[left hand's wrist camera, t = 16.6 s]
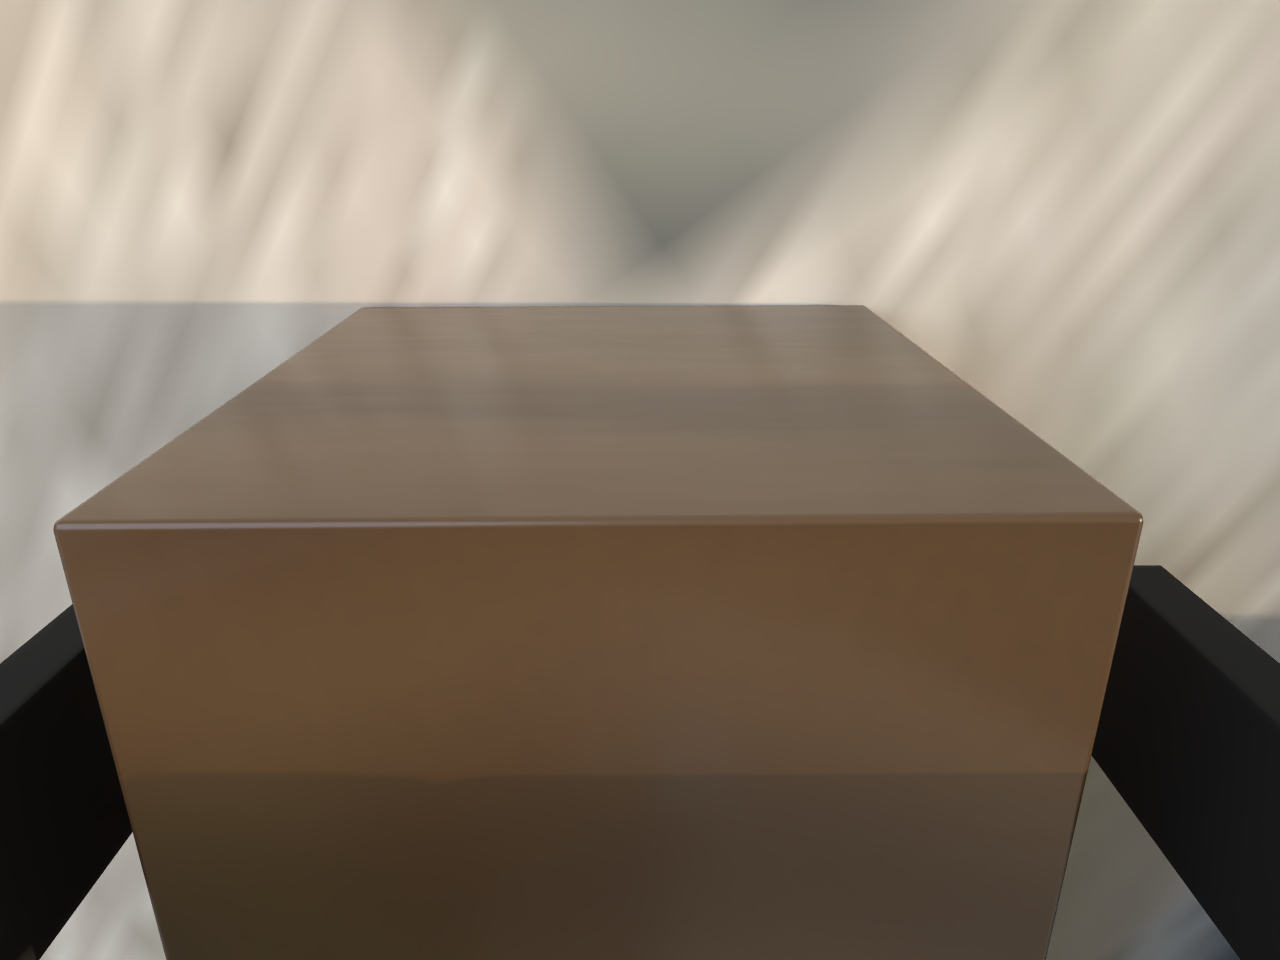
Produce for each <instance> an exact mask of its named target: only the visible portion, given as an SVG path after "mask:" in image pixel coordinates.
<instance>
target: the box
mask: <svg viewBox="0 0 1280 960" xmlns="http://www.w3.org/2000/svg"><path fill="white" fill-rule="evenodd" d="M1142 526H1143V517H1142V515H1141V513H1139V512H1138V511H1137V510H1135V509H1134V508H1133V507H1131V506H1130V505H1129V504H1127V503H1126V502H1125V501H1123V500H1122V499H1121V498H1119V497H1118V496H1117V495H1115V494H1114V493H1113V492H1111V491H1110V490H1109V489H1107V488H1106V487H1105V486H1104V485H1102V484H1101V483H1100V482H1098V481H1097V480H1096V479H1094V478H1093V477H1092V476H1090V475H1089V474H1088V473H1086V472H1085V471H1084V470H1082V469H1081V468H1080V467H1078V466H1077V465H1076V464H1074V463H1073V462H1072V461H1070V460H1069V459H1068V458H1066V457H1065V456H1064V455H1062V454H1061V453H1060V452H1058V451H1057V450H1056V449H1054V448H1053V447H1052V446H1050V445H1049V444H1048V443H1046V442H1045V441H1044V440H1042V439H1041V438H1040V437H1038V436H1037V435H1036V434H1034V433H1033V432H1032V431H1030V430H1029V429H1028V428H1026V427H1025V426H1024V425H1022V424H1021V423H1020V422H1018V421H1017V420H1016V419H1014V418H1013V417H1012V416H1010V415H1009V414H1008V413H1006V412H1005V411H1004V410H1002V409H1001V408H1000V407H998V406H997V405H996V404H994V403H993V402H992V401H990V400H989V399H988V398H986V397H985V396H984V395H982V394H981V393H980V392H978V391H977V390H976V389H974V388H973V387H972V386H970V385H969V384H968V383H966V382H965V381H964V380H962V379H961V378H960V377H958V376H957V375H956V374H954V373H953V372H952V371H950V370H949V369H948V368H946V367H945V366H944V365H942V364H941V363H940V362H938V361H937V360H936V359H934V358H933V357H932V356H930V355H929V354H928V353H926V352H925V351H924V350H922V349H921V348H920V347H918V346H917V345H916V344H914V343H913V342H912V341H910V340H909V339H908V338H906V337H905V336H904V335H902V334H901V333H900V332H898V331H897V330H896V329H894V328H893V327H892V326H890V325H889V324H888V323H886V322H885V321H884V320H882V319H881V318H880V317H878V316H877V315H876V314H874V313H873V312H872V311H870V310H869V309H868V308H866V307H865V306H609V307H363V308H361V309H360V310H358V311H357V312H355V313H354V314H352V315H351V316H350V317H348V318H347V319H345V320H344V321H342V322H341V323H340V324H338V325H337V326H335V327H334V328H332V329H331V330H330V331H328V332H327V333H325V334H324V335H322V336H321V337H320V338H318V339H317V340H315V341H314V342H312V343H311V344H310V345H308V346H307V347H305V348H304V349H302V350H301V351H300V352H298V353H297V354H295V355H294V356H292V357H291V358H290V359H288V360H287V361H285V362H284V363H282V364H281V365H280V366H278V367H277V368H275V369H274V370H272V371H271V372H270V373H268V374H267V375H265V376H264V377H262V378H261V379H260V380H258V381H257V382H255V383H254V384H252V385H251V386H250V387H248V388H247V389H245V390H244V391H242V392H241V393H239V394H238V395H237V396H235V397H234V398H232V399H231V400H229V401H228V402H227V403H225V404H224V405H222V406H221V407H219V408H218V409H217V410H215V411H214V412H212V413H211V414H209V415H208V416H207V417H205V418H204V419H202V420H201V421H199V422H198V423H197V424H195V425H194V426H192V427H191V428H189V429H188V430H187V431H185V432H184V433H182V434H181V435H179V436H178V437H177V438H175V439H174V440H172V441H171V442H169V443H168V444H167V445H165V446H164V447H162V448H161V449H159V450H158V451H157V452H155V453H154V454H152V455H151V456H149V457H148V458H147V459H145V460H144V461H142V462H141V463H139V464H138V465H137V466H135V467H134V468H132V469H131V470H129V471H128V472H127V473H125V474H124V475H122V476H121V477H119V478H118V479H117V480H115V481H114V482H112V483H111V484H109V485H108V486H107V487H105V488H104V489H102V490H101V491H99V492H98V493H97V494H95V495H94V496H92V497H91V498H89V499H88V500H87V501H85V502H84V503H82V504H81V505H79V506H78V507H77V508H75V509H74V510H72V511H71V512H69V513H68V514H67V515H65V516H64V517H62V518H61V519H59V520H58V521H57V522H56V523H55V525H54V534H55V538H56V542H57V546H58V550H59V553H60V557H61V561H62V565H63V569H64V572H65V576H66V580H67V584H68V588H69V591H70V595H71V599H72V603H73V607H74V610H75V614H76V618H77V622H78V626H79V629H80V633H81V637H82V641H83V645H84V648H85V652H86V656H87V660H88V664H89V667H90V671H91V675H92V679H93V683H94V686H95V690H96V694H97V698H98V701H99V705H100V709H101V713H102V717H103V720H104V724H105V728H106V732H107V736H108V739H109V743H110V747H111V751H112V755H113V758H114V762H115V766H116V770H117V774H118V777H119V781H120V785H121V789H122V793H123V796H124V800H125V804H126V808H127V812H128V815H129V819H130V823H131V827H132V831H133V834H134V838H135V842H136V846H137V850H138V853H139V857H140V861H141V865H142V869H143V872H144V876H145V880H146V884H147V888H148V891H149V895H150V899H151V903H152V907H153V910H154V914H155V918H156V922H157V926H158V929H159V933H160V937H161V941H162V945H163V948H164V952H165V956H166V960H1045V959H1046V955H1047V950H1048V946H1049V941H1050V937H1051V932H1052V928H1053V924H1054V919H1055V915H1056V910H1057V906H1058V901H1059V897H1060V892H1061V888H1062V883H1063V879H1064V874H1065V870H1066V865H1067V861H1068V856H1069V852H1070V847H1071V843H1072V839H1073V834H1074V830H1075V825H1076V821H1077V816H1078V812H1079V807H1080V803H1081V798H1082V794H1083V789H1084V785H1085V780H1086V776H1087V771H1088V767H1089V763H1090V758H1091V754H1092V749H1093V745H1094V740H1095V736H1096V731H1097V727H1098V722H1099V718H1100V713H1101V709H1102V704H1103V700H1104V695H1105V691H1106V687H1107V682H1108V678H1109V673H1110V669H1111V664H1112V660H1113V655H1114V651H1115V646H1116V642H1117V637H1118V633H1119V628H1120V624H1121V619H1122V615H1123V610H1124V606H1125V602H1126V597H1127V593H1128V588H1129V584H1130V579H1131V575H1132V570H1133V566H1134V561H1135V557H1136V552H1137V548H1138V543H1139V539H1140V534H1141V530H1142Z"/></svg>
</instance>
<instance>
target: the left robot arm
mask: <svg viewBox="0 0 1280 960" xmlns="http://www.w3.org/2000/svg"><path fill="white" fill-rule="evenodd" d="M1091 755H1092V756H1093V758H1094V759H1095V761H1096V762H1097V763H1098V765H1099V766H1100V767H1101V769H1102V770H1103V772H1104V773H1105V774H1106V776H1107V777H1108V778H1109V780H1110V781H1111V782H1112V784H1113V785H1114V787H1115V788H1116V789H1117V791H1118V792H1119V793H1120V795H1121V796H1122V798H1123V799H1124V800H1125V802H1126V803H1127V804H1128V806H1129V807H1130V809H1131V810H1132V811H1133V813H1134V814H1135V815H1136V817H1137V818H1138V820H1139V821H1140V822H1141V824H1142V825H1143V826H1144V828H1145V829H1146V830H1147V832H1148V833H1149V835H1150V836H1151V837H1152V839H1153V840H1154V841H1155V843H1156V844H1157V846H1158V847H1159V848H1160V850H1161V851H1162V852H1163V854H1164V855H1165V857H1166V858H1167V859H1168V861H1169V862H1170V863H1171V865H1172V866H1173V867H1174V869H1175V870H1176V872H1177V873H1178V874H1179V876H1180V877H1181V878H1182V880H1183V881H1184V883H1185V884H1186V885H1187V887H1188V888H1189V889H1190V891H1191V892H1192V894H1193V895H1194V896H1195V898H1196V899H1197V900H1198V902H1199V903H1200V905H1201V906H1202V907H1203V909H1204V910H1205V911H1206V913H1207V914H1208V915H1209V917H1210V918H1211V920H1212V921H1213V922H1214V924H1215V925H1216V926H1217V928H1218V929H1219V931H1220V932H1221V933H1222V935H1223V936H1224V937H1225V939H1226V940H1227V942H1228V943H1229V944H1230V946H1231V947H1232V948H1233V950H1234V951H1235V952H1236V954H1237V955H1238V957H1239V958H1240V959H1241V960H1280V664H1279V663H1278V662H1277V661H1276V660H1275V659H1273V658H1272V657H1271V656H1270V655H1268V654H1267V653H1266V652H1265V651H1264V650H1262V649H1261V648H1260V647H1259V646H1258V645H1256V644H1255V643H1254V642H1253V641H1251V640H1250V639H1249V638H1248V637H1247V636H1245V635H1244V634H1243V633H1242V632H1241V631H1239V630H1238V629H1237V628H1236V627H1235V626H1233V625H1232V624H1231V623H1230V622H1228V621H1227V620H1226V619H1225V618H1224V617H1222V616H1221V615H1220V614H1219V613H1218V612H1216V611H1215V610H1214V609H1213V608H1211V607H1210V606H1209V605H1208V604H1207V603H1205V602H1204V601H1203V600H1202V599H1201V598H1199V597H1198V596H1197V595H1196V594H1194V593H1193V592H1192V591H1191V590H1190V589H1188V588H1187V587H1186V586H1185V585H1184V584H1182V583H1181V582H1180V581H1179V580H1178V579H1176V578H1175V577H1174V576H1173V575H1171V574H1170V573H1169V572H1168V571H1167V570H1165V569H1164V568H1163V567H1162V566H1133V570H1132V575H1131V579H1130V584H1129V588H1128V593H1127V597H1126V602H1125V606H1124V610H1123V615H1122V619H1121V624H1120V628H1119V633H1118V637H1117V642H1116V646H1115V651H1114V655H1113V660H1112V664H1111V669H1110V673H1109V678H1108V682H1107V687H1106V691H1105V695H1104V700H1103V704H1102V709H1101V713H1100V718H1099V722H1098V727H1097V731H1096V736H1095V740H1094V745H1093V749H1092V754H1091ZM132 832H133V831H132V827H131V823H130V819H129V815H128V812H127V808H126V804H125V800H124V796H123V793H122V789H121V785H120V781H119V777H118V774H117V770H116V766H115V762H114V758H113V755H112V751H111V747H110V743H109V739H108V736H107V732H106V728H105V724H104V720H103V717H102V713H101V709H100V705H99V701H98V698H97V694H96V690H95V686H94V683H93V679H92V675H91V671H90V667H89V664H88V660H87V656H86V652H85V648H84V645H83V641H82V637H81V633H80V629H79V626H78V622H77V618H76V614H75V610H74V607H73V604H72V605H71V606H70V607H69V608H67V609H66V610H65V611H64V612H62V613H61V614H60V615H59V616H58V617H56V618H55V619H54V620H53V621H52V622H50V623H49V624H48V625H47V626H45V627H44V628H43V629H42V630H41V631H39V632H38V633H37V634H36V635H35V636H33V637H32V638H31V639H30V640H29V641H27V642H26V643H25V644H24V645H22V646H21V647H20V648H19V649H18V650H16V651H15V652H14V653H13V654H12V655H10V656H9V657H8V658H7V659H5V660H4V661H3V662H2V663H1V664H0V960H39V959H40V958H41V957H42V955H43V954H44V952H45V951H46V950H47V948H48V947H49V946H50V944H51V943H52V942H53V940H54V939H55V937H56V936H57V935H58V933H59V932H60V931H61V929H62V928H63V926H64V925H65V924H66V922H67V921H68V920H69V918H70V917H71V915H72V914H73V913H74V911H75V910H76V909H77V907H78V906H79V905H80V903H81V902H82V900H83V899H84V898H85V896H86V895H87V894H88V892H89V891H90V889H91V888H92V887H93V885H94V884H95V883H96V881H97V880H98V878H99V877H100V876H101V874H102V873H103V872H104V870H105V869H106V867H107V866H108V865H109V863H110V862H111V861H112V859H113V858H114V857H115V855H116V854H117V852H118V851H119V850H120V848H121V847H122V846H123V844H124V843H125V841H126V840H127V839H128V837H129V836H130V835H131V833H132Z"/></svg>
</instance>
